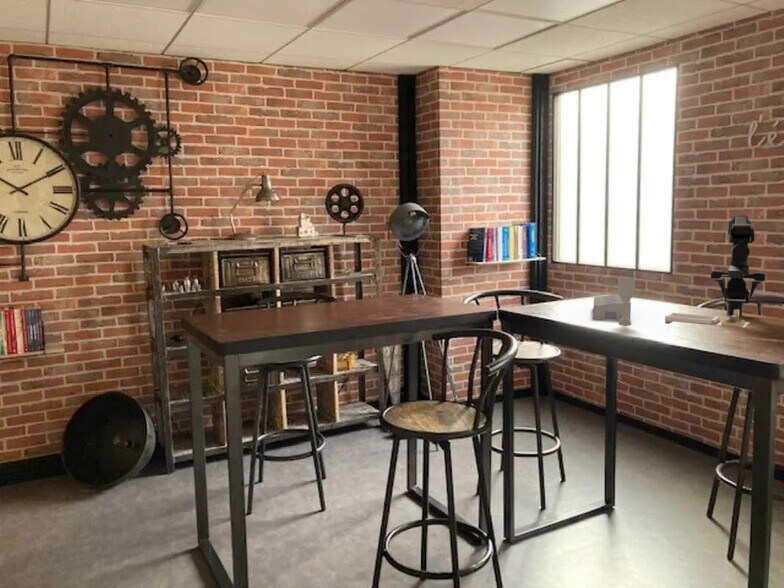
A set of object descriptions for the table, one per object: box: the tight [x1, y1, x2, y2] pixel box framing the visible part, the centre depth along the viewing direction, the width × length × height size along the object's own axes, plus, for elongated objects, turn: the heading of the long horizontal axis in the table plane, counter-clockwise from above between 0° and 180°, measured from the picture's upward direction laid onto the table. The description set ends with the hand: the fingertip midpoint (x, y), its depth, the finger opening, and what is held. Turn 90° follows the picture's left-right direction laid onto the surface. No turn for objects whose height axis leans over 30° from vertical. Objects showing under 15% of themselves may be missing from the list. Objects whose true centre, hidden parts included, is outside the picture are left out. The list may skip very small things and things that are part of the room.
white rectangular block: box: [716, 315, 751, 328], centre depth 251 cm, size 13×10×4 cm
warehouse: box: [592, 293, 632, 321], centre depth 283 cm, size 30×14×8 cm, turn 163°
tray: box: [664, 312, 720, 325], centre depth 260 cm, size 11×18×2 cm, turn 53°
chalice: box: [616, 277, 637, 326], centre depth 257 cm, size 7×7×18 cm
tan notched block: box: [720, 309, 746, 328], centre depth 251 cm, size 6×12×5 cm, turn 143°
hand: (737, 297), depth 254 cm, fingers open, 9 cm apart
